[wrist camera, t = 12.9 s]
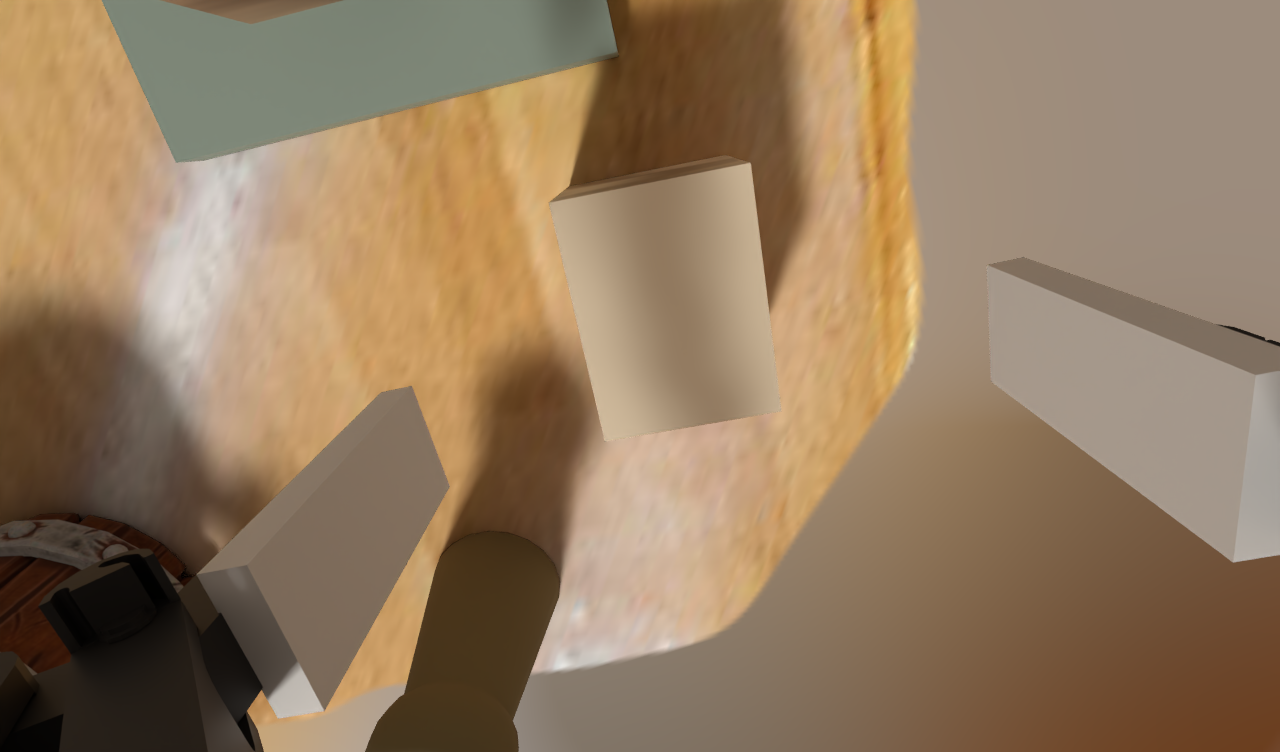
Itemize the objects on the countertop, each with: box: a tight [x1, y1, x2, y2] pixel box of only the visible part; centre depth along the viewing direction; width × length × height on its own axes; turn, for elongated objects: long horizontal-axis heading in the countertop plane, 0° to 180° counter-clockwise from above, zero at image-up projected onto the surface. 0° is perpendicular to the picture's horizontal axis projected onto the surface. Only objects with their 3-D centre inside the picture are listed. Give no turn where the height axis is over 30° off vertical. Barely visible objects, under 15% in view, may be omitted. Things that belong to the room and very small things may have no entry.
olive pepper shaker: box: [365, 531, 560, 752], centre depth 26 cm, size 6×6×11 cm
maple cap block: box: [549, 155, 781, 442], centre depth 23 cm, size 6×8×6 cm
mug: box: [0, 513, 194, 675], centre depth 26 cm, size 12×14×15 cm
